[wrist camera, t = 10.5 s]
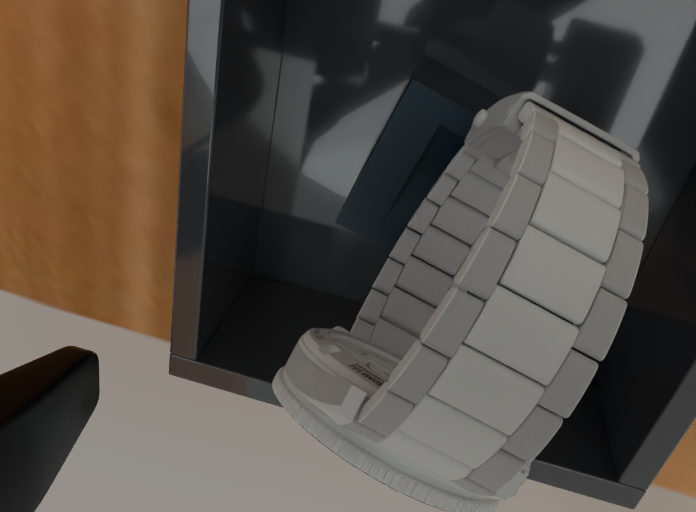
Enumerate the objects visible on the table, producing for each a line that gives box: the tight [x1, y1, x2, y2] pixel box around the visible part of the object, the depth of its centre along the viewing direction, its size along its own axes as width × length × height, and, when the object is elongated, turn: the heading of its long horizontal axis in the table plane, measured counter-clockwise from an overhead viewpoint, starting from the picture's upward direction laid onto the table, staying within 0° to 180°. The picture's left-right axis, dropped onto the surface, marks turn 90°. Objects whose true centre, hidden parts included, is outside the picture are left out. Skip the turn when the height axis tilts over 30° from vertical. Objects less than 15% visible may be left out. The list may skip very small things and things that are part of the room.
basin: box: [169, 0, 696, 509], centre depth 16 cm, size 14×14×6 cm
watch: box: [272, 54, 648, 512], centre depth 13 cm, size 6×8×11 cm
